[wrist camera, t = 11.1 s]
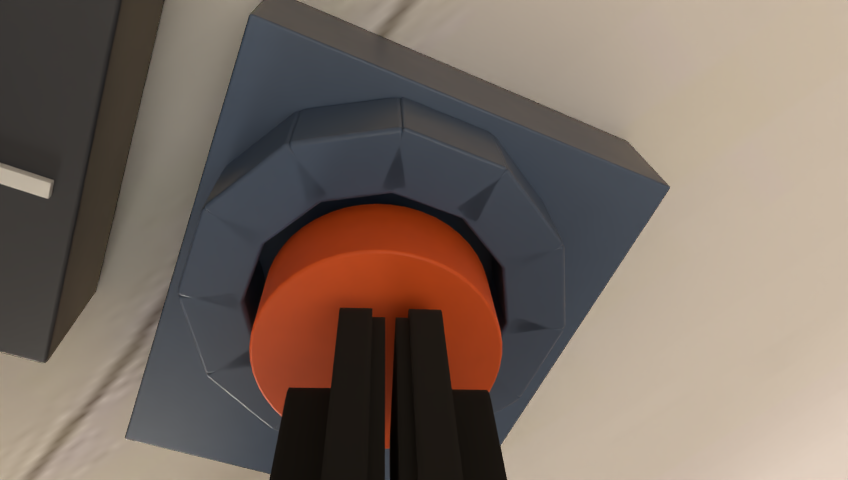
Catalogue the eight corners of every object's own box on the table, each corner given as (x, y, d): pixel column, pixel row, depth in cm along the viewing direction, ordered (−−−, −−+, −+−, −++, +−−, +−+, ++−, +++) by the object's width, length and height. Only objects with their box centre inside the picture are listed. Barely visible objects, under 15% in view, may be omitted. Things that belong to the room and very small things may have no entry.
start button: (238, 353, 13) (219, 415, 12) (306, 168, 11) (294, 213, 10) (434, 410, 14) (440, 473, 13) (527, 248, 12) (547, 300, 11)
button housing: (156, 368, 19) (96, 499, 15) (272, -11, 14) (228, 34, 10) (444, 446, 21) (459, 579, 17) (628, 141, 16) (709, 228, 12)
